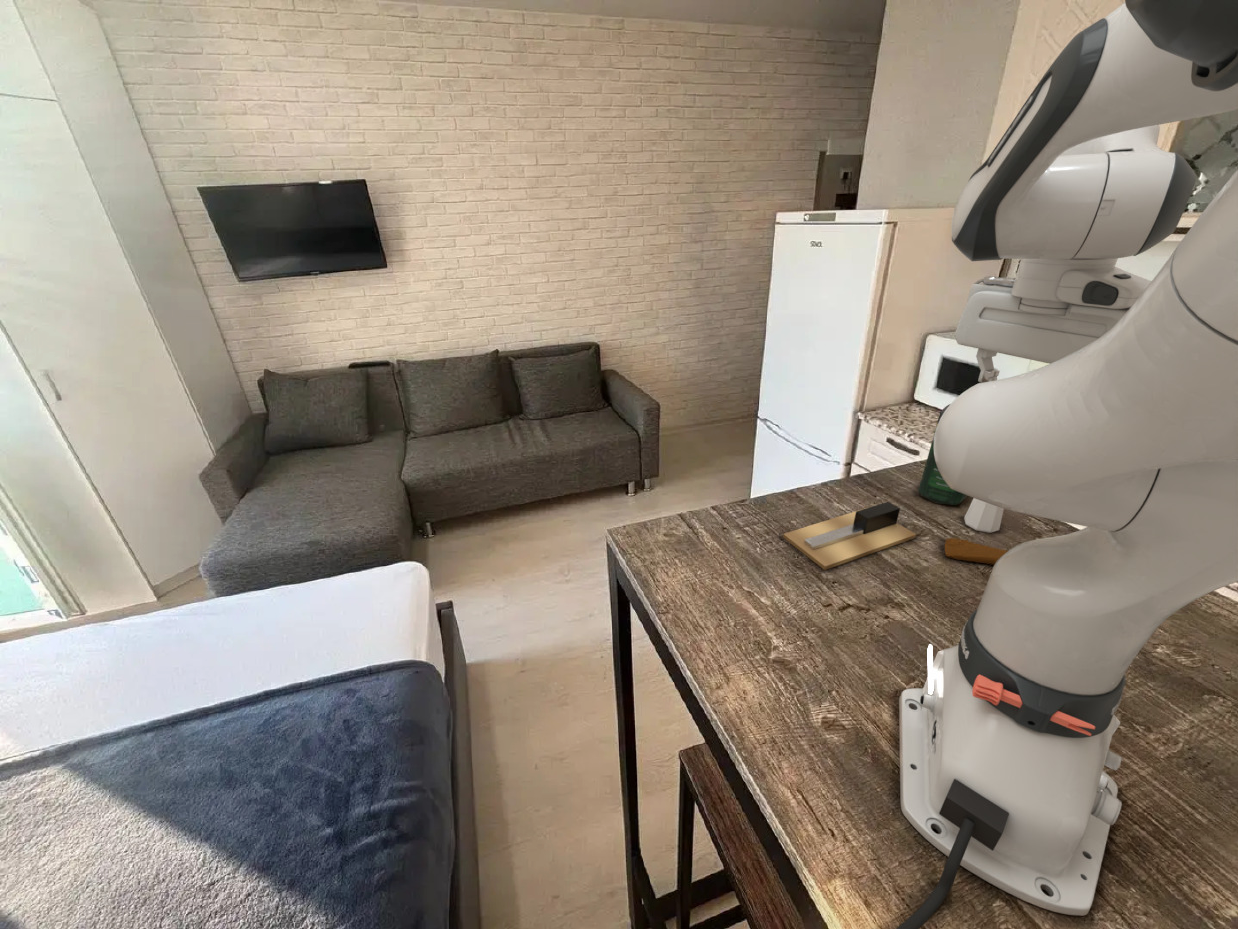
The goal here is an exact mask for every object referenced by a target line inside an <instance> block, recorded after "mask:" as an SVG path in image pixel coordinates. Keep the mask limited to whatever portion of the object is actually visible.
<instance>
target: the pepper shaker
mask: <svg viewBox="0 0 1238 929" xmlns="http://www.w3.org/2000/svg"><path fill="white" fill-rule="evenodd" d="M972 498H973V497H972ZM1004 510H1005V509H1003V508H1000V507H998V506H995V505H992V504H989V503H986V502H983V501H981V500H978V499H975V498H973V499H972V500H971V502H970V505H969V507H968V509H967V511H966V513H965V515H964V517H963V520H964V523H965V525H966V526H967V527H969V528H971V529H973V530H974V531H977V532H982V533H987V534H991V533H994V532H999V531H1000V528H1001V523H1002V520H1003V519H1002V518H1003V516H1004Z"/></svg>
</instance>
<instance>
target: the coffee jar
mask: <svg viewBox="0 0 1238 929" xmlns="http://www.w3.org/2000/svg"><path fill="white" fill-rule="evenodd" d="M950 404H951V403H949V404H947V405H946V406H944V407H943V408H942V409H941V411H940V412H939V415H938V418H937V421H936V425H935V429H934V433H933V437H932V440H931V444H930V448H929V450H928V454H927V458H926V462H925V465H924V470H923V471H922V475H921V479H920V482H919V486H918V488H917V489H918V490H917V491H918V494H919V496H921V497H923V498H924V499H927V500H929V501H930V502H932V503H935V504H939V505H942V504H943V505H950V506H957V505H959V504H961V503H962V502H963V501H964V500H965V499H966V498H967V497H968V495H965V494H963V493H960V492H958V491H955V490H952V489H951V488H950V487H949V486H948V485H947V483H946V482H945V481H944V479H943V477H942V476H941V474H940V472H939V470H938V468H937V465H936V462H935V457H934V448H933V446H934V436H935V432H936V428H937V425H938V423H939V421H940V419H941V417H942V415H943V414H944V412H945V411H946V409H947V408H948V407H949V405H950Z"/></svg>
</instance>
